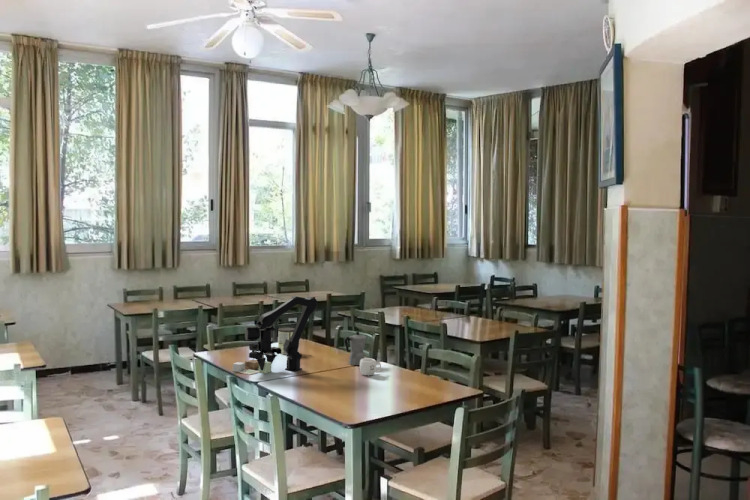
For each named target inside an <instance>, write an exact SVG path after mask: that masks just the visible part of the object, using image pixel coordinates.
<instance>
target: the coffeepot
mask: <svg viewBox="0 0 750 500" xmlns="http://www.w3.org/2000/svg"><path fill="white" fill-rule="evenodd" d="M355 333H356V334H354V335H349V336H346V337H345V339H344V341H343V342H344V345H345V349H346V352H347V353H350V354H349V357H348V358H349V359H348V364H349V365H350V364H351V365H350V366H353V365H360V360H361V359H364V358H365V352H364V350H365V346H366V340H367V338H368V336H367V335H361V334H360V331H355ZM348 341H349V342H348ZM348 343H349V344H348ZM349 347H350V349H349Z"/></svg>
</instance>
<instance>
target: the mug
mask: <svg viewBox="0 0 750 500" xmlns="http://www.w3.org/2000/svg"><path fill="white" fill-rule="evenodd" d="M377 364H378V365H379V369H378V370H376V369H377ZM381 368H382V364H381V362H380V361H376V359H374V358H370V357H364V359H361V360H360V366H359V371H360V373H361V375H362V376H364V375H372V376H373V375H375V373H380V371H381Z"/></svg>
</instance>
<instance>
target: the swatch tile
mask: <svg viewBox="0 0 750 500" xmlns="http://www.w3.org/2000/svg"><path fill="white" fill-rule="evenodd" d="M258 373H261V372H260V371H259V370H250V369H245V371H241V372H239V374H244V375H249V376H250V375H252V376H253V375H254V374H258Z"/></svg>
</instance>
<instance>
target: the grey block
mask: <svg viewBox="0 0 750 500" xmlns="http://www.w3.org/2000/svg"><path fill="white" fill-rule="evenodd" d="M245 370H246V369H245V362H241V361H240V362H239V361H237V362H234V363H232V372H234V373H240V372H241V371H245Z"/></svg>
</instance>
